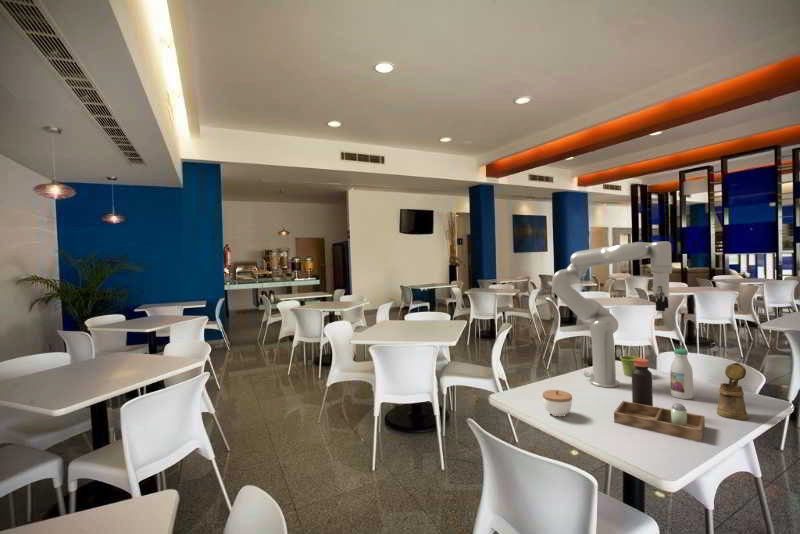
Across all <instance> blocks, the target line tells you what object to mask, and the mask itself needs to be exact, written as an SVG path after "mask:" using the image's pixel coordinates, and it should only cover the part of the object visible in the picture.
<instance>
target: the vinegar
mask: <svg viewBox="0 0 800 534" xmlns="http://www.w3.org/2000/svg"><path fill="white" fill-rule="evenodd" d="M634 366H635V369H634V370H633V371H632V376H631V396H632V397H631V399H632V400H631V401H632V403H637V404H643V405H648V406H653V407H654V405H653V404H654V403H653V401H654V399H653V398H654V397H653V396H654V395H653V373H652V372H651V371H650V370H649V367H650V360H649V359H646V358H641V357H639V358H636V359H634Z"/></svg>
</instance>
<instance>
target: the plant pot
mask: <svg viewBox="0 0 800 534" xmlns="http://www.w3.org/2000/svg"><path fill="white" fill-rule="evenodd" d="M636 358H640V357H638V356H633V355H622V356H619V359H620V361H621V366H622V370H623V375H624V376H625V375H626V377H632V371H633V370H634V369H635V366H634V359H636Z"/></svg>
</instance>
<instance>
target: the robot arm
mask: <svg viewBox="0 0 800 534" xmlns="http://www.w3.org/2000/svg"><path fill="white" fill-rule="evenodd" d="M569 259H570V264H569V265H568V266H567V267H566V268H564V269H559V270H558V271H556V272H555V273H554V274H553V276H552V279H551V287H552V290H553V291H552V292H554V295H556V296H557V298H558V299H559V300H560V301H562V302H563V303H564V304H565V305H566V306H567V308H569V309H570V310H571V311H572V313H574V314H575V315H576V316H577V317H578V318H579V319H580V320H582V321H588V320H589V321H590V322H591V324H590V328H589V329H590V337H591V345H592V346H591V348H592V349H591V350H592V371H591V372H590V371H589V372H588V371H584V372H583V376H584V377H585V378H589V383H590V384H591V383H592V384H591V385H593V384H594V386H596V385H597V387H600V386H601V388H617V387H619V386H620V385H621V383H620V381H619V380H617V377H616V376H617V375H616V349H615V346H616V345H615V338H614V334H615V333H616V332H617V331H618V329H619V321H618V320H617V319H616V317H615V316H614V315H613V314H612V313H611V312H609V310H608V309H606V308H605V307H604V306H603V305H602V304H601V303H600V302H598V301H596V300H595V299H591V298H587V299H586V298H585V297H584V296H582V295H583V294H581V293H580V292H579V291H578V290H576V289H575V288H574V287H572V286H573V285H575V284H577V283H578V282H579V281H580V280H581V278H582V277H583V276H584V275H585V274H586V272H588V270H589V269H590V268H591V267H592V268H594V267H599V266H607V265H612V264H615V263H621V262H627V261H636V260H643V259H650V274H653V277H652V296H653V297H655V310H656V312H665V311H666V309H669V299H668V298H669V294H670V276H669V275H670V274H672V273H673V266H672V243H671V242H670V241H666V240H665V241H654V242H644V241H643V242H642V241H635V242H629V243H623V244H618V245H612V246H602V247H595V248H589V249H584V250H578V251H575V252H574V253H572V255H571V256H570V258H569Z"/></svg>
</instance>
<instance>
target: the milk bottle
mask: <svg viewBox="0 0 800 534" xmlns="http://www.w3.org/2000/svg"><path fill="white" fill-rule="evenodd" d="M673 355H674V358H673V361H672V362H671V364H670V369H669V370H670V371H669V372H670V373H669V374H670V375H669V376H670V395H671V396H672V397H674V398H676V399H681V400H692V399H693V398H694V376H693V375H694V373H693V367H692V365H691V363H690V362H689V359H688V350H687V349H684V348H674V350H673Z"/></svg>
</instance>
